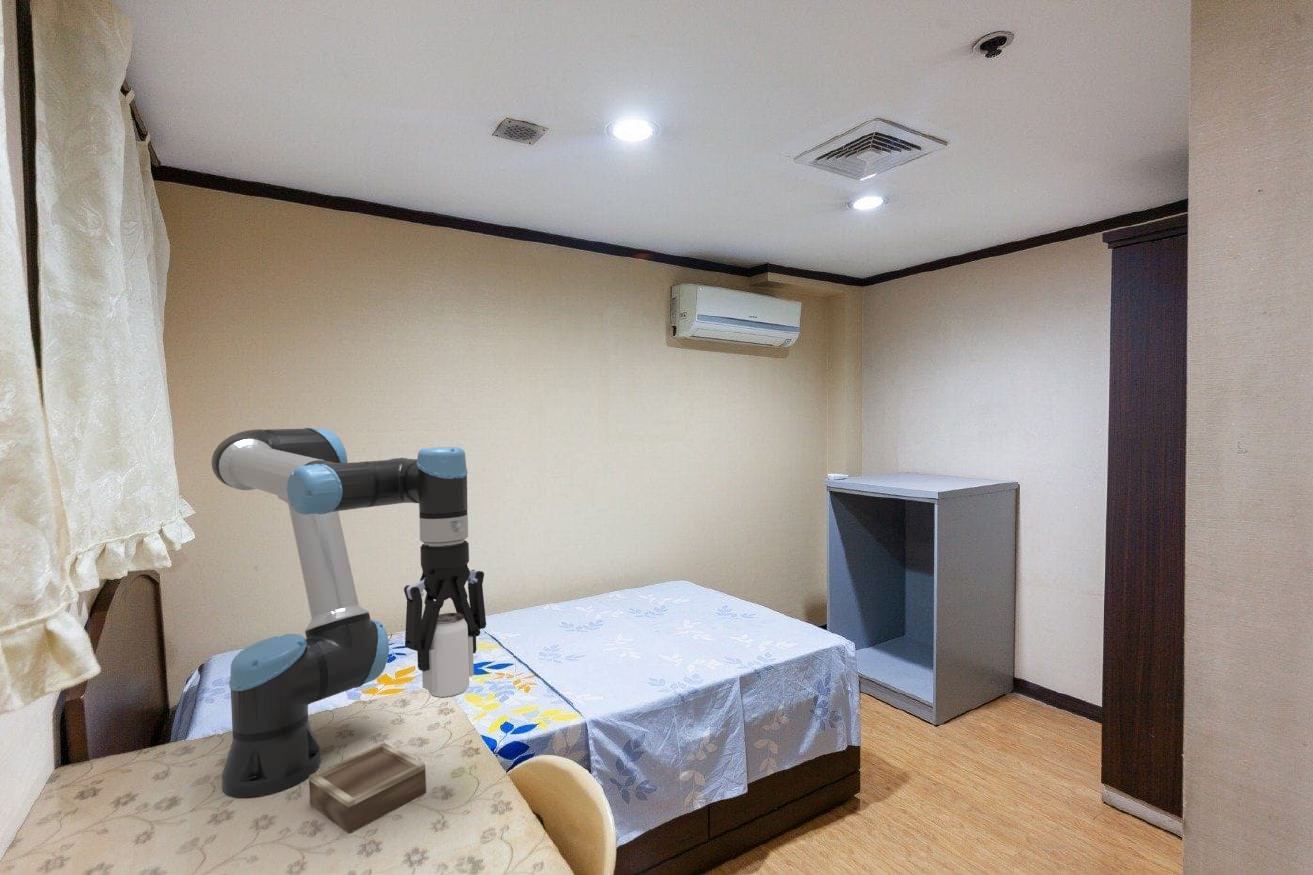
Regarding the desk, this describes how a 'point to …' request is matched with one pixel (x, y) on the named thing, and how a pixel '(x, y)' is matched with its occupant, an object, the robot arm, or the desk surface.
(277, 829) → the desk surface
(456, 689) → the can
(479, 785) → the desk surface
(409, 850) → the desk surface
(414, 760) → the wooden tray
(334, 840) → the desk surface
